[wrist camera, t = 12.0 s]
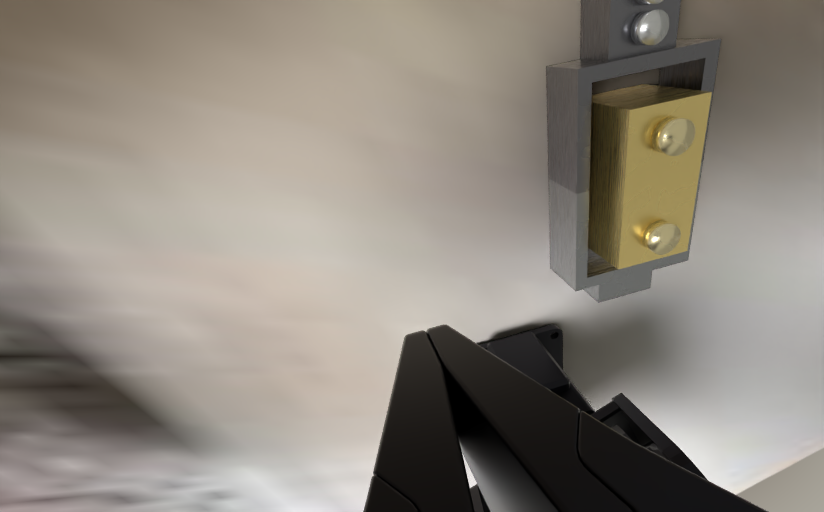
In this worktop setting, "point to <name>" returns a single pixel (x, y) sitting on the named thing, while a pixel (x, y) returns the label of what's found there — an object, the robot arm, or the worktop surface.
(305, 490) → the worktop surface
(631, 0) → the open rectangular frame
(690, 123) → the gold block with knobs
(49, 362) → the worktop surface
